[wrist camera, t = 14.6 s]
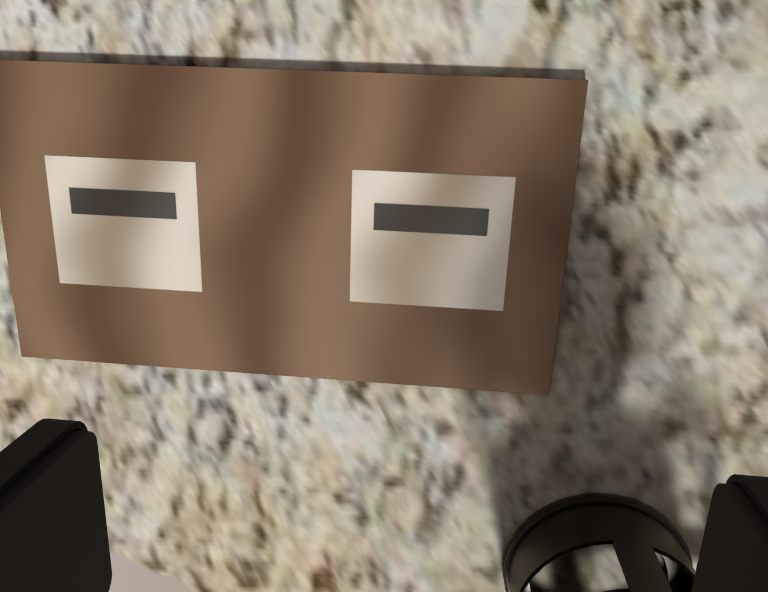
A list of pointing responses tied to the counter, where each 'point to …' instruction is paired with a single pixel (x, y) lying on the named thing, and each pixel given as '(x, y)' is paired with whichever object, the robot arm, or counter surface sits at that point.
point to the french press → (602, 542)
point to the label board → (290, 220)
